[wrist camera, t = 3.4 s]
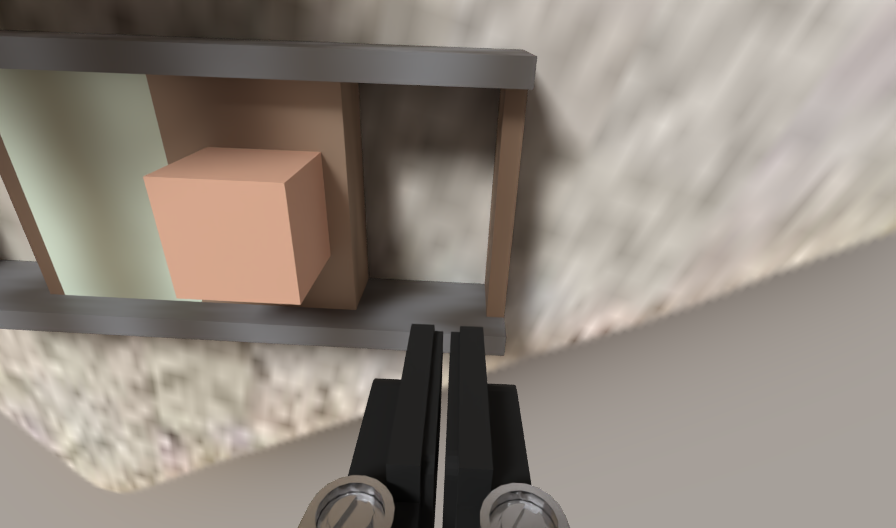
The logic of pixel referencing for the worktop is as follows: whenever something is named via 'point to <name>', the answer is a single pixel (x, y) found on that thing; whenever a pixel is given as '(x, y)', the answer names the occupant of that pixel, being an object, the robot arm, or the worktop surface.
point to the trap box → (226, 126)
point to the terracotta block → (242, 223)
